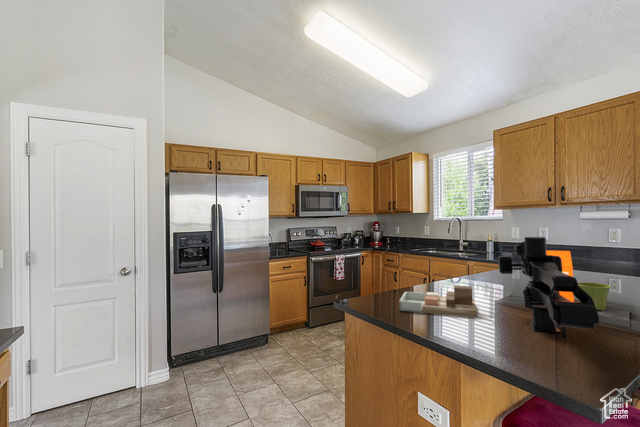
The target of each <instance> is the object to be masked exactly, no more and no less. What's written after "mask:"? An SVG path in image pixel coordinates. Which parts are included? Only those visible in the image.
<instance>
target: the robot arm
mask: <svg viewBox="0 0 640 427" xmlns="http://www.w3.org/2000/svg"><path fill="white" fill-rule="evenodd" d="M546 251H547V239H546V237H545V236H544V237H543V236H525V237H524V241H522V242H516V244H515V245H514V253H515V254H518V256H519V258H518V259H519V261H520V263H513V259H512V256H507V255H506V256H505V255H502V256H499V257H497V259H498V272H499V273H500V274H502V275H503V274H504V275H505V274H506V275H507V274H508V275H510V274H511V275H512V274H514V273H513V272H514V271H522V272H521V273H522V274H523V275H525V276H527V277H529V280H528V282H527V283H526V285H527V286H526V285H525V286H524V288H523V290H522V294H523V300H524V308H527V309H529V310H532V322H531V321H530V322H529V325H530V327H531V328H532V329H533V331H535V332H544V333H556V334H561V333H562V332H561V330H560V329H559V328H558V327H564V328H573V329H574V328H576V329H584V330H585V329H586V330H594V329H595V325H599V322H600V317H599V312H598V310H596V307H595V305H594V302H593V299H592V298H591V296H589V295H588V294H587V293H586V292H585V291H584V290H583V289H581V288H580V287H579V285H578V283H579V282H578V280H577V278H576V277H575V276H573V277H572V276H568V275H566V274H564V273H562V271H563V270H562V260H561V258H560V257H559V256H553V255H546ZM559 291H561V292H572V293H573V295H574V298H576V299H578V301H574V302H571V301H570V300H568V299H566V298H565V297H563V296H561V295H560V293H559ZM579 301H580V302H579Z"/></svg>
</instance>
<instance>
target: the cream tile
mask: <svg viewBox="0 0 640 427" xmlns="http://www.w3.org/2000/svg"><path fill="white" fill-rule="evenodd" d="M439 293H440V292H434V291H433V292H432V291H427V292H426V293H425V296H433V297H438V300H439V296H440V294H439Z"/></svg>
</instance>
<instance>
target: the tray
mask: <svg viewBox="0 0 640 427" xmlns="http://www.w3.org/2000/svg"><path fill="white" fill-rule="evenodd" d="M425 296H426V293H425V292H418V291H417V292H416V291H404V292H403V294H402V296H401V298H399V301H398V305H399V306H398V309H399V311H402V312H403V311H404V312H414V313H422V305H423V302H424V299H425Z"/></svg>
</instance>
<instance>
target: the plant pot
mask: <svg viewBox="0 0 640 427" xmlns="http://www.w3.org/2000/svg"><path fill="white" fill-rule="evenodd" d="M577 283H578V285H579V287H580V288H581V289H583V290H584V291H585V292H586V293H587V294H588V295H589V296H591V298H592V299H593V302H594V305H595V307H596V310H597V311H600V312H601V311H606V309H607V301H608V293H609V291H610V288H612V286H611V285H609V284H605V283H598V282H597V283H596V282H577Z"/></svg>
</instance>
